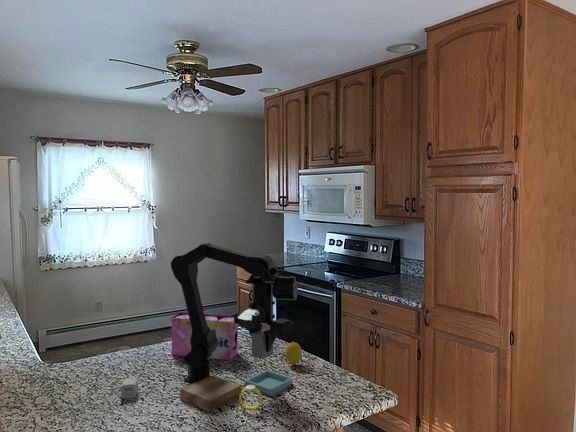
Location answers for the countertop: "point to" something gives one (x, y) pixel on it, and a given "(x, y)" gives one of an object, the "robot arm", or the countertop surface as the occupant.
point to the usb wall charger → (129, 388)
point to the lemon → (293, 353)
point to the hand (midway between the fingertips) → (262, 350)
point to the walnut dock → (210, 393)
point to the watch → (249, 389)
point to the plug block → (260, 345)
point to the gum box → (220, 323)
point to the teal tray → (269, 382)
